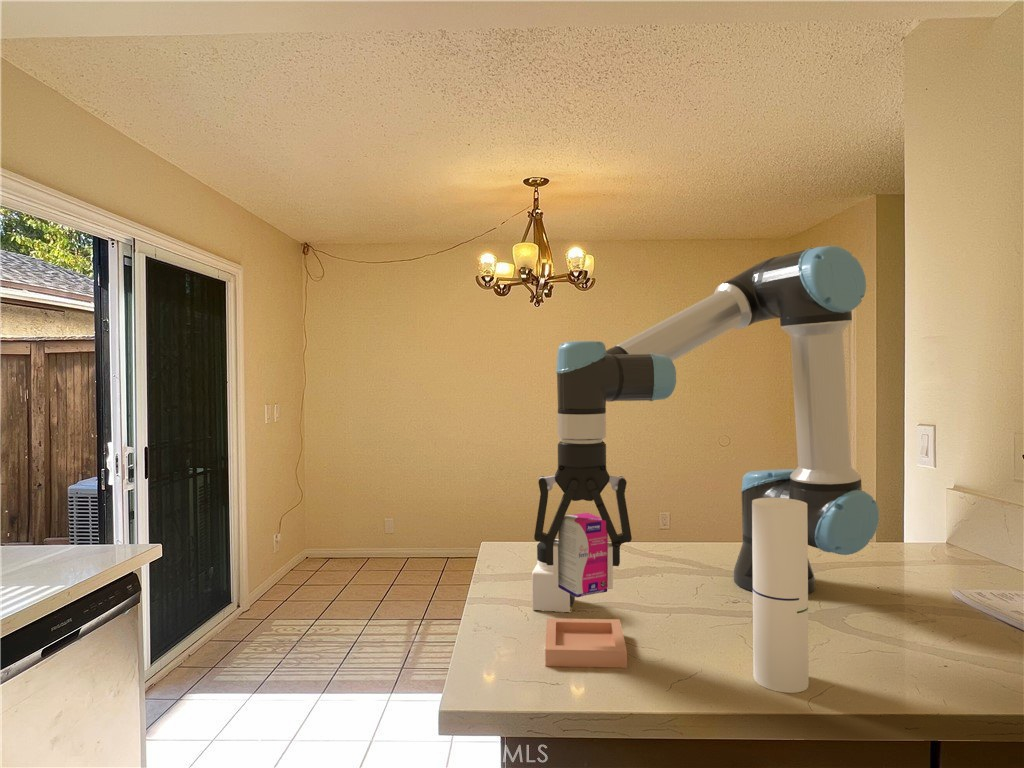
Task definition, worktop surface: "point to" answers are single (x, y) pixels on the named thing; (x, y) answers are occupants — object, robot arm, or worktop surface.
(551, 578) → the medicine bottle
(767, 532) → the cylindrical container
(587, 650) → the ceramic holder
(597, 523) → the supplement box
